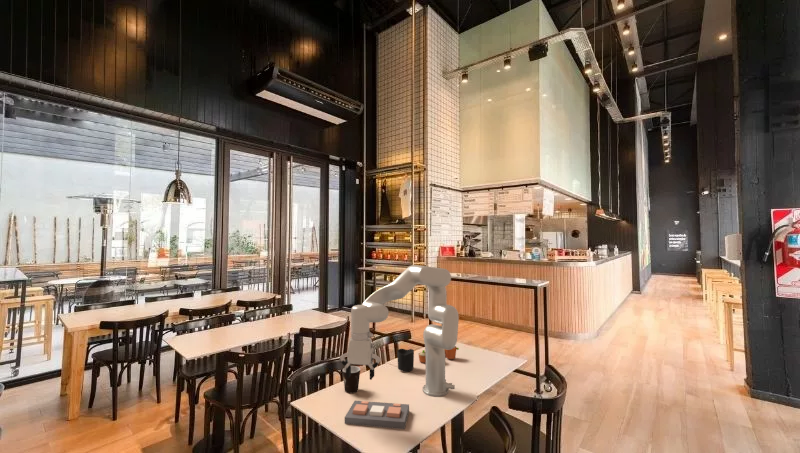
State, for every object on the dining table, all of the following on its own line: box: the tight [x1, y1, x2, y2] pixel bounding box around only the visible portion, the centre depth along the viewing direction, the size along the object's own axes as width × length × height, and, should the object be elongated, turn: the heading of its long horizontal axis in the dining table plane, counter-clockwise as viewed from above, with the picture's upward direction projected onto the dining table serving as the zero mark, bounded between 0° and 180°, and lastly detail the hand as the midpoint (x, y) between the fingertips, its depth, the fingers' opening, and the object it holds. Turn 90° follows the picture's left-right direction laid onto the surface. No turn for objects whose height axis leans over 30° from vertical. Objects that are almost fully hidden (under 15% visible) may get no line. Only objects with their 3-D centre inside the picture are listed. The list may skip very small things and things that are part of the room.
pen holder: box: [396, 348, 415, 372], centre depth 193 cm, size 9×9×10 cm
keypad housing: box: [344, 400, 410, 430], centre depth 140 cm, size 24×14×3 cm, turn 81°
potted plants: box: [418, 345, 460, 363], centre depth 209 cm, size 26×16×10 cm, turn 134°
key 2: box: [387, 407, 401, 418], centre depth 138 cm, size 5×5×2 cm
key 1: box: [353, 404, 368, 415], centre depth 140 cm, size 5×5×2 cm
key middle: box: [370, 405, 384, 417], centre depth 139 cm, size 5×5×2 cm
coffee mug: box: [342, 365, 361, 394], centre depth 165 cm, size 12×9×10 cm
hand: (360, 377), depth 141 cm, fingers open, 9 cm apart
